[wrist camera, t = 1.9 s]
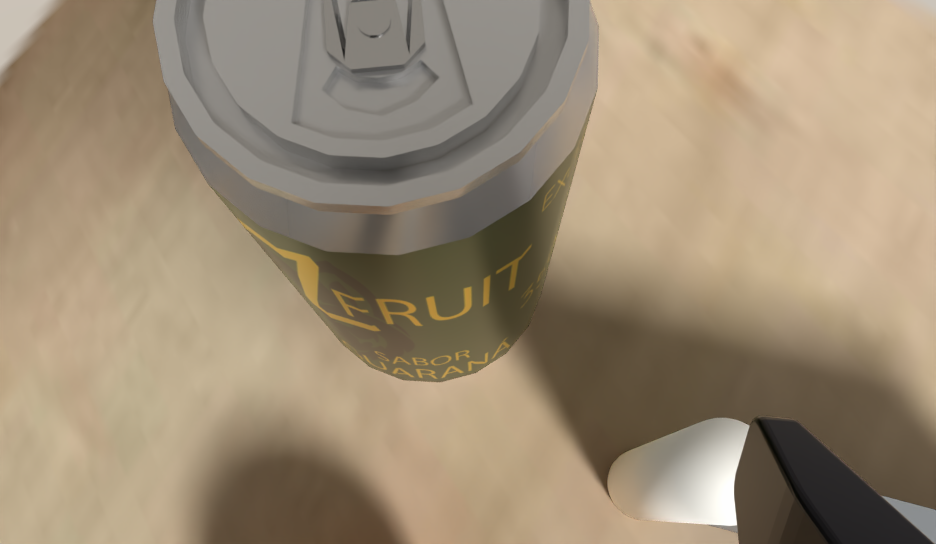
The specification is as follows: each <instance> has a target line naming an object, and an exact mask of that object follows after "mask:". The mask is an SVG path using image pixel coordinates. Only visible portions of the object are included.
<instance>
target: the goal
mask: <svg viewBox="0 0 936 544" xmlns="http://www.w3.org/2000/svg"><path fill="white" fill-rule="evenodd" d="M748 429H749V425H748V424H745V423H743V422H741V421H738V420H735V419H730V418H712V419H707V420H705V421H702V422H699V423H697V424H694V425H692V426H689V427H687V428H684V429H682V430H679V431H677V432H674V433H672V434H669V435H667V436H664V437H662V438H659V439H657V440H654V441H652V442H649V443H647V444H644V445H642V446H639V447H637V448H634V449H632V450H629V451H627V452H625V453H623V454H622V455H620V456H619V457H618V458H617V459H616V460H615V461H614V462H613V464H612V466H611V468H610V470H609V473H608V479H607V486H608V492H609V495H610V498H611V500H612V501H613V503H614V504H615V506H616V507H617V508H618V509H619V510H620V511H621V512H622V513H624V514H625V515H627V516H629V517H631V518H634V519H638V520H649V521H664V522H680V523H695V524H707V525H711V526H714V527H718V528H722V529H725V530H729V531H733V532H736V533H738V530H737V521H736V511H735V502H734V480H735V474H736V470H737V467H738V464H739V460H740V457H741V453H742V450H743V446H744V443H745V440H746V436H747V433H748ZM882 497H883V498H884V499H886V500H887V501H888V502H889V503H890V504H891V505H892V506H893V507H895V508H896V509H897V510H898V511H899V512H900V513H901V514H902V515H903V516H905V517H906V518H907V519H908V520H909V521H910V522H911V523H912V524H913V525H915V526H916V527H917V528H918V529H919V530H920V531H921V532H922V533H923V534H925V535H926V536H927V537H928V538H929V539H930V540H931V541H932V542H934V543H935V544H936V510H934V509H930V508H927V507H923V506H919V505H915V504H911V503H908V502H904V501H900V500H896V499H893V498H889V497H885V496H882Z"/></svg>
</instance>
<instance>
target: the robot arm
mask: <svg viewBox="0 0 936 544" xmlns="http://www.w3.org/2000/svg"><path fill="white" fill-rule="evenodd" d="M734 502H735V511H736V521H737V530H738V539H739V544H935V543H934V542H932V541H931V540H930V539H929V538H928V537H927V536H926V535H925V534H923V533H922V532H921V531H920V530H919V529H918V528H917V527H916V526H915V525H913V524H912V523H911V522H910V521H909V520H908V519H907V518H906V517H905V516H903V515H902V514H901V513H900V512H899V511H898V510H897V509H896V508H895V507H893V506H892V505H891V504H890V503H889V502H888V501H887V500H886V499H884V498H883V497H882V496H881V495H880V494H879V493H878V492H877V491H876V490H874V489H873V488H872V487H871V486H870V485H869V484H868V483H867V482H866V481H864V480H863V479H862V478H861V477H860V476H859V475H858V474H857V473H855V472H854V471H853V470H852V469H851V468H850V467H849V466H848V465H847V464H845V463H844V462H843V461H842V460H841V459H840V458H839V457H838V456H837V455H835V454H834V453H833V452H832V451H831V450H830V449H829V448H828V447H827V446H825V445H824V444H823V443H822V442H821V441H820V440H819V439H818V438H816V437H815V436H814V435H813V434H812V433H811V432H810V431H809V430H808V429H806V428H805V427H804V426H803V425H802V424H801V423H799V422H798V421H797V420H795V419H791V418H783V417H773V416H763V415H760V416H757V417H756V418H754V419H753V421H752V422H751V424H750V426H749V429H748V433H747V436H746V440H745V443H744V446H743V450H742V453H741V457H740V460H739V464H738V467H737V470H736V474H735V480H734Z"/></svg>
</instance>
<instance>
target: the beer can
mask: <svg viewBox="0 0 936 544" xmlns="http://www.w3.org/2000/svg"><path fill="white" fill-rule="evenodd" d="M153 26H154V31H155V37H156V42H157V48H158V53H159V59H160V64H161V69H162V75H163V80H164V83H165V84H166V86H167V88H168V92H169V97H170V103H171V108H172V114H173V119H174V125H175V129H176V131H177V132H178V134H179V136H180V137H181V139H182V141H183V143H184V144H185V146H186V148H187V149H188V151H189V153H190V154H191V156H192V158H193V159H194V161H195V163H196V164H197V166H198V168H199V169H200V171H201V173H202V174H203V176H204V178H205V179H206V181H207V183H208V184H209V185H210V187H211V188H212V189H213V190H214V191H215V193H216V194H217V195H218V196H219V197H220V199H221V200H222V201H223V202H224V203H225V205H226V206H227V207H228V208H229V209H230V210H231V212H232V213H233V214H234V215H235V216H236V218H237V219H238V220H239V221H240V222H241V224H242V225H243V226H244V227H245V228H246V230H247V231H248V232H249V233H250V234H251V236H252V237H253V238H254V239H255V240H256V241H257V243H258V244H259V245H260V246H261V247H262V249H263V250H264V251H265V252H266V253H267V255H268V256H269V257H270V258H271V259H272V261H273V262H274V263H275V264H276V265H277V267H278V268H279V269H280V270H281V271H282V273H283V274H284V275H285V276H286V277H287V278H288V280H289V281H290V282H291V283H292V284H293V286H294V287H295V288H296V289H297V290H298V292H299V293H300V294H301V295H302V296H303V298H304V299H305V300H306V301H307V302H308V304H309V305H310V306H311V307H312V308H313V309H314V311H315V312H316V313H317V314H318V315H319V317H320V318H321V319H322V320H323V321H324V323H325V324H326V325H327V326H328V327H329V329H330V330H331V331H332V332H333V333H334V335H335V336H336V337H337V338H338V339H339V341H340V342H341V343H342V344H343V345H344V346H345V347H347V348H348V349H349V350H350V351H351V352H353V353H354V354H355V355H356V356H357V357H359V358H360V359H361V360H362V361H363V362H364V363H366V364H367V365H368V366H369V367H371V368H374V369H376V370H379V371H381V372H384V373H386V374H389V375H392V376H394V377H397V378H399V379H402V380H409V381H427V382H443V381H447V380H451V379H454V378H458V377H462V376H466V375H470V374H474V373H476V372H478V371H479V370H481V369H483V368H484V367H486V366H487V365H489V364H490V363H492V362H493V361H495V360H497V359H498V358H500V357H501V356H503V355H504V354H506V353H507V352H508V350H509V349H510V348H511V347H512V346H513V344H514V343H515V342H516V341H517V339H518V338H519V337H520V336H521V335H522V333H523V332H524V331H525V330H526V328H527V327H528V326H529V324H530V321H531V318H532V316H533V313H534V311H535V308H536V305H537V303H538V300H539V297H540V295H541V292H542V288H543V285H544V281H545V277H546V274H547V270H548V266H549V263H550V259H551V256H552V252H553V248H554V245H555V241H556V237H557V234H558V230H559V226H560V223H561V219H562V216H563V212H564V208H565V205H566V201H567V197H568V194H569V190H570V186H571V183H572V179H573V176H574V172H575V168H576V165H577V161H578V157H579V154H580V150H581V146H582V143H583V139H584V136H585V132H586V128H587V125H588V121H589V117H590V114H591V110H592V106H593V103H594V99H595V96H596V92H597V88H598V44H599V25H598V22H597V19H596V16H595V13H594V11H593V8H592V5H591V2H590V0H156V5H155V11H154V17H153Z"/></svg>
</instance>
